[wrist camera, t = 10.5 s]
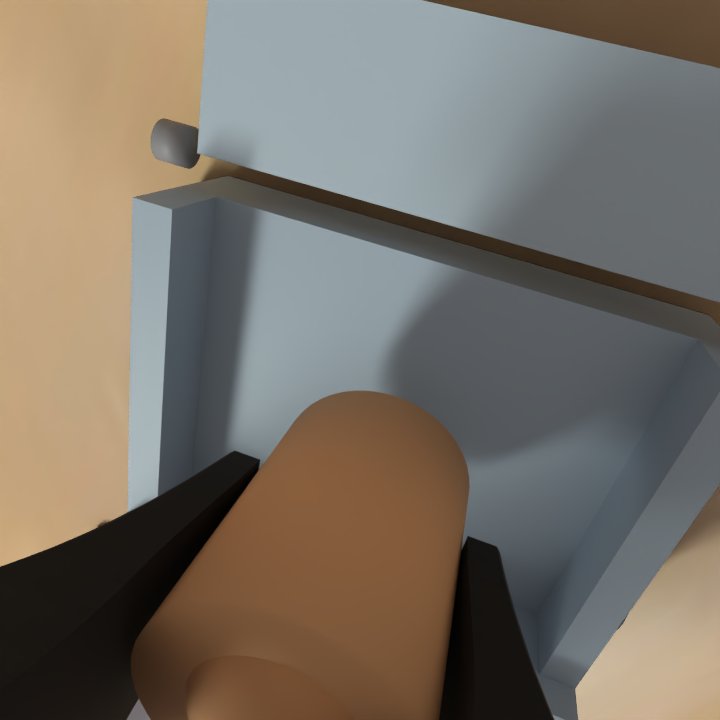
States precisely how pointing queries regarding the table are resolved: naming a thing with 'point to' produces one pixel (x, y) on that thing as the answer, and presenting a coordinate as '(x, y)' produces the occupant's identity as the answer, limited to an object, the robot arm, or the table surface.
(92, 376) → the table surface
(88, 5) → the table surface
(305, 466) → the tan hollow cylinder
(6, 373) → the table surface
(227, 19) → the panel
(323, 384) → the box
